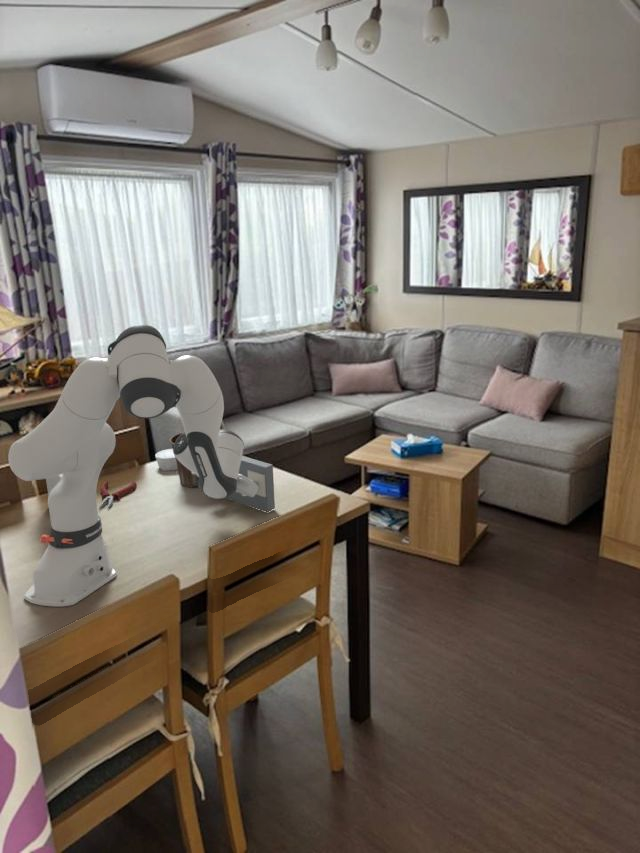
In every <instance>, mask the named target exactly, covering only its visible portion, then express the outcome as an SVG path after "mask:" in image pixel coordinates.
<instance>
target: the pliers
mask: <svg viewBox="0 0 640 853" xmlns="http://www.w3.org/2000/svg"><path fill="white" fill-rule="evenodd" d="M107 487H108V488H109V482H108V481H106V482H104V483H103V484H102V485H101V486H100V493H101V501H102V502H101V504H100V506H99V507H98V510H100V509H102V508H104V507H105V506H107V509H109V508H110V507H111V506H112V505H113V504H114V502H115V501H120V500H121V498H122V497H124V496H126V495H128V494H131V493H132V492H134V491H135V490H136V488H137V481H132V482H131V483H130V484H129V485H128V486H126V487H123V488H121V489H120V490H117V491H115V492H113V493H112V494H110V493H109V491H108V488H107ZM106 488H107V489H106Z"/></svg>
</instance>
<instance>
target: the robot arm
mask: <svg viewBox="0 0 640 853" xmlns="http://www.w3.org/2000/svg"><path fill="white" fill-rule="evenodd" d="M107 354H108V356H106V357H91V358H86V359H85V360H83V361H82V362H80V364H79V365H78V366H77V367H76V368H75V370H74V371H73V372H72V374H71V375H70V377H68V380H67V382H66V383H65V385H64V387H63V389H62V392H61V394H60V396H59V398H58V401H57V402H56V404H55V406H54V408H53V409H52V411H50V413H49V414H48V415H47V416H46V417H45V418H44V419H43V420H41V422H40V423H39V424H38V425H37V426H36V427H34V429H32V430H31V431H30V432H28V433H27V434H25V435H24V436H22V437H21V438H19V439H17V440H15V441H13V443H12V444H11V445H10V447H9V451H8V458H7V459H8V465H9V468H10V469H11V471H12V472H13V474H14V475H15V476H16V477H17V478H18V479H20V480H23V481H24V482H31V481H32V482H33V481H38V480H41V481H42V480H46V479H48V478H51V477H54V476H57V475H60V474H63V476H62V478H61V480H60V481H59V483H58V484H57V485H56V486H55V487H54V488H53V489H52V490H51V492H50V494H49V495H48V498H47V506H48V512H49V520H50V526H49V532H48V533H49V534H41V536H40V540H39V541H40V543H42V544H47V545H48V546H47V548H46V550H44V553H43V554H42V557H41V558H40V560H39V562H38V564H37V565H36V567H35V569H34V571H33V576H32V577H33V584H32V585H31V587H29V589H28V590H27V591H26V592H25V593H24V594H23V596H24V599H25V601H26V602H28V601H29V602H28V603H31V604H33V605H38V606H45V607H69V606H73V605H75V604H77V603H79V602H80V601H81V600H83V599H85V598H86V597H88V596H90V595H91V594H92V593H94V592H95V591H96V590H98V589H100V588H101V587H103V586H104V585H105V584H107V583H108V582H110V581H112V580H113V579H114V578H116V577H117V571H116V570H115V569H114V567H113V564H112V561H111V557H110V553H109V548H108V545H107V544H106V541H105V539H104V537H103V534H102V533H103V523H102V521H101V520H102V519H101V517H100V516H99V511H98V510H99V508H98V501H97V500H98V499H97V487H98V486H97V485H98V482H99V481H98V480H99V477H100V475H101V472H102V469H103V467H104V465H105V463H106V462H107V460H108V459H109V457H110V456H111V455H112V454H113V453H114V450H115V447H116V434H115V432H114V430H113V428H112V427H111V426H110V425H109V424H108V423H107V420H108V419H109V416H110V414H111V413H112V412H113V410H114V407H115V405H116V402H117V401H118V400H119V398H120V401H121V404H122V406H123V409H125V411H126V413H127V414H129V415H131V416H132V417H136V418H138V419H144V420H145V419H146V420H147V419H154V418H157V417H159V416H161V415H164V414H165V413H167V412H169V411H170V410H171V409H172V408H174V407H176V409H177V411H178V414H179V417H180V420H181V422H182V426H183V428H184V429H183V430H184V431H183V432H184V433H183V432H181V433H182V434H181V435H180V436H179V437H178V438H177V440H176V442H175V445H174V448H172V449H173V453H174V455H175V457H176V458H177V460H178V461H179V462H180V463H181V464H183V465H184V466H185V467H186V468H187V469H189V470H190V471H192V472H191V473H192V474H193V475H194V476H196V477H198V478H199V480H198V486H199V487H198V486H197V487H198V489H200V491H201V492H202V493H203V494H204V495H205V496H207V497H209V498H211V499H214V500H223V499H227V498H226V497H228V496H230V495H231V494H233V493H234V492H235V491H236V492H237V493H239V494H242V495H247V496H250V497H254V496H255V494H256V493H257V491H258V485H256V484H255V483H254V482H252V481H251V480H250V479H248V478H247V477H245V476H243V475H241V474H239V469H240V464H241V458H242V456H243V454H244V453H243V452H244V446H245V443H244V440H243V438H241V437H240V436H239V435H238V434H237V433H235V432H234V431H232V430H229V429H225V428H222V429H221V425H222V423H223V422H222V421H223V417H224V412H225V411H224V410H225V404H224V395H223V392H222V389H221V387H220V385H219V383H218V381H217V379H216V377H215V375H214V373H213V372H212V370H211V369H210V367H209V366H208V365H207V364H206V363H205V362H204V360H202V359H201V358H199V357H198V356H195V355H189V354H187V355H181V356H180V357H178V358H175V359H173V360H172V359H170V360H169V357H168V356H169V355H168V352H167V344H166V341H165V339H164V337H163V335H162V334H161V331H159V330H158V329H157V328H156V327H154V326H152V325H149V324H148V325H147V324H136V325H133V326H132V325H131V326H129V327H128V328H126V329H124V330H123V331H121V333H120V334H119V335H118V336H117V337H116V339H115V341H113V342H111V343H109V345H108V346H107Z"/></svg>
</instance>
